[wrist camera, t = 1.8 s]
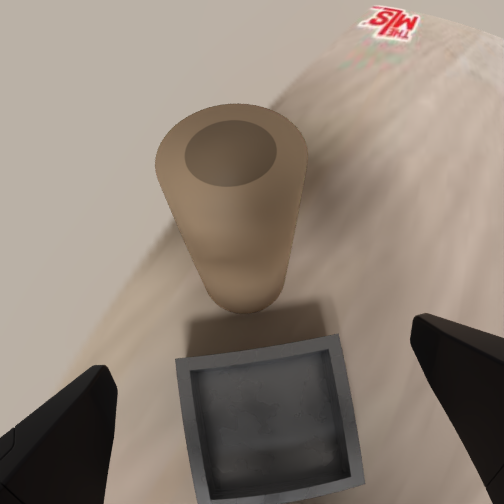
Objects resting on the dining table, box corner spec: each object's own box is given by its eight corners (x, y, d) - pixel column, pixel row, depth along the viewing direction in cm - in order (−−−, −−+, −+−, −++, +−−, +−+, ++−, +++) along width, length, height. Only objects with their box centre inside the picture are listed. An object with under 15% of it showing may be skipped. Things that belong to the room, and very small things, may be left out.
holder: (352, 474, 17) (365, 483, 14) (207, 497, 17) (199, 511, 14) (328, 341, 21) (338, 333, 19) (185, 363, 21) (175, 358, 18)
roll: (294, 251, 25) (321, 120, 13) (270, 325, 22) (283, 236, 10) (221, 229, 26) (195, 95, 14) (191, 297, 23) (127, 192, 11)
